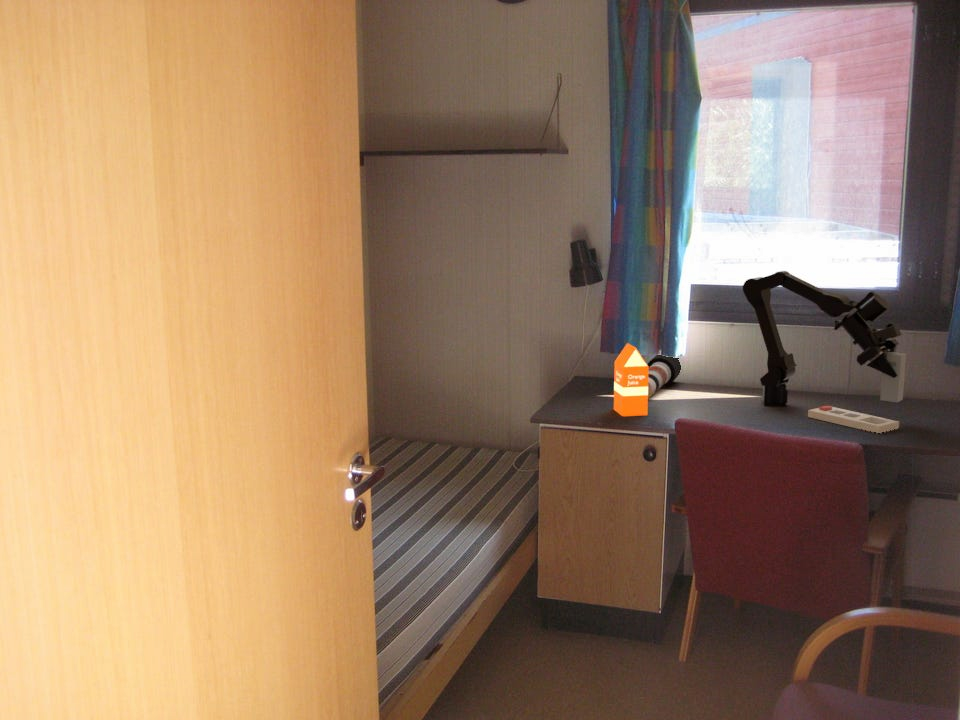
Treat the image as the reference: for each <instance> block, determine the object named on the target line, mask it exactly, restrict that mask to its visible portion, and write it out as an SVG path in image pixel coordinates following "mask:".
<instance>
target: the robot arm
mask: <svg viewBox="0 0 960 720" xmlns="http://www.w3.org/2000/svg"><path fill="white" fill-rule="evenodd" d="M777 287H782V288H784V289H786V290H788V291H790V292H792V293H794V294H796V295H799V296H800V297H802V298H804V299H806V300H808V301H810V302H812V303H813V304H815V305H816V306H817V307H818V308H819V309H820V310H821V311H822V312H824V313H825V314H826V315H827V316H829V317H831V318H838V317H841V316H843V317H842V318H841V319H837V320H836V319H835V321H834V328H833V330H834V331H838V330H840V329H844V331H845V332H846V333H847V334H848V335H849V337H850V338H851V339H852V340H853V341H852V344H853V345H854V346H856V345H857V346H858V347H859V348H860V349H861V351H862V352H861V353H859V354H858V355H857V356H856V362H857V363H858V365H859V366H860V367H863V366H865V365H866V367H870V368H871V369H875V371H879V372H881V373H882V372H883V373H885V374H887V375H889V376H891V377H893V378H895V377H896V376H897V374H896V372H895V371H894V369H893V368H892V366H891V365H890V363H889V362H888V360H887V353H888V352H895V353H897V352H896V351H897V347H898V346H900V343H899V341H897V339H896V338H897V337H899V336H902V332H901V331H900V330H901V327H900V326H899V324H896V323H894V322H889V323H886V326H885V328H883V329H880V330H878V329H877V327H871V326H870V325H869V323H867V322H869V321H870V322H873V323H874V322H875V321H876V320H878V319H879V318H881V316H883V314H885V313H886V312H888V311H889V310H890V309H891V307H890V305H889V303H888V301H887V300H886V299H885V298H884V297H882V296H881V295H879V294H877V293H876V292H875V291H874V290H873V291H870V292H868V293H867V295H866V296H865V297H864V298H862V299H861V300H860V301H855V300H851V299H850V298H849V297H848V296H846V295H843V294H841V293H836V292H833V291H827V290H824V289H822V288H819V287H817V286H815V285H813V284H811V283H809V282H807V281H806V280H803V279H802V278H799V277H797V276H795V275H794V274H791V273H789V272H788V271H786V270H781V271H776V272H775V273H772V274H770V275H768V276H767V275H766V276H764V277H762V276H758V277H754V278H748V279H747V280H745V281H744V283H743V285H742V293H743V295H744V296H745V298H746V301H747V302H748V303H749V305H751V306H752V307H753V309H754V311H755V315H756V317H757V322H758V325H759V329H760V331H761V334H762V338H763V341H764V342H763V343H764V344H765V348H766V352H767V361H766V366H767V367H766V368H767V372H766V373H765V374H764V375H763V376H762V377H760V378H759V381H760V384H761V386H762V387H763V388H762V399H761V403H762V405H763V406H765V407H787V404H788V397H789V396H788V395H789V393H788V392H789V390H788V389H787V385H786V384H788V383H789V381H790V379H791V378H792V377H794V375H795V373H796V367H797V363H796V362H795V359H794V355H793V352H791V353H787V351H786V350H785V348H784V347H783V343H782V339H781V336H780V333H779V330H778V327H777V323H776V320H775V316H774V313H773V310H772V307H771V300H772V299H771V298H772V297H771V296H772V292H771V290H772V289H775V288H777ZM853 311H855V312H853ZM850 312H853V313H852V314H850ZM848 313H849V314H848ZM844 315H845V316H844ZM867 362H868V364H867Z"/></svg>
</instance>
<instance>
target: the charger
mask: <svg viewBox="0 0 960 720" xmlns="http://www.w3.org/2000/svg"><path fill="white" fill-rule="evenodd" d="M887 360H888V362H889V363H890V365H891V366H892V368H893V369H894V371H895V372H896V374H897V376H896V377H895V378H893V377H891V376H889V375H887V374H885V373H883V372H881V373H882V375H881V385H880V396H879V397H880V398H879V399H880V400H879V401H883V402H884V401H885V402H893V403H899V402H901V401H902V400H903V399H904V391H905V389H904V387H905V377H906V363H907V353H903V352H902V353H901V352H888V353H887Z"/></svg>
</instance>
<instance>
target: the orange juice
mask: <svg viewBox="0 0 960 720" xmlns="http://www.w3.org/2000/svg"><path fill="white" fill-rule="evenodd" d="M647 364H648V363H646V361H645V360H644V358H643V357H642V355H641V354H640V352H639V350H638V349H637V347H636V346H633V345H631V344H630V343H628V342H627V343H626V344H625V345H624V347H623V349H622V350H621V352H620V353H619V355H618V356H617V358H616V359H615V360H614V370H613V371H614V377H613V378H614V381H613V410H614V411H615V412H616V413H617V414H619V415H620V416H621V417H635V416H636V417H637V416H648V410H649V409H648V406H649V405H648V402H649V398H648V369H649V366H648V365H647Z"/></svg>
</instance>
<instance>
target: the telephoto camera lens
mask: <svg viewBox="0 0 960 720" xmlns="http://www.w3.org/2000/svg"><path fill="white" fill-rule="evenodd" d="M678 359H679V358H673V357H666V356H662V355H657V354H655V356H654V357H653V358H652V359H650V360H649V361H648V363H646V364H647V365H648V366H649V369H648V399H649V398H650V397H652V396H653V394H654V393H656V392H657V391H659V390H660V389H662V388H663V387H662V386H666V387H668V386H670V385H672V383H673V382H675V381H676V379H677V378H678V375H680V374H681V373H680V370H681V365H680V362H679V360H678ZM679 373H680V374H679Z"/></svg>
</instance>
